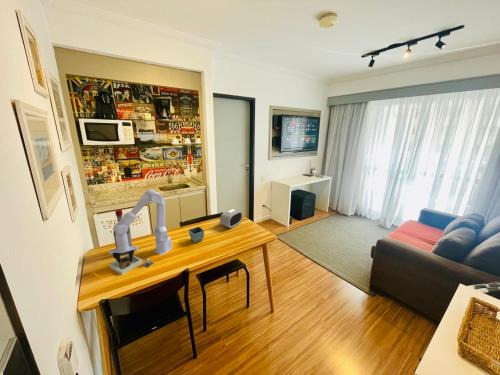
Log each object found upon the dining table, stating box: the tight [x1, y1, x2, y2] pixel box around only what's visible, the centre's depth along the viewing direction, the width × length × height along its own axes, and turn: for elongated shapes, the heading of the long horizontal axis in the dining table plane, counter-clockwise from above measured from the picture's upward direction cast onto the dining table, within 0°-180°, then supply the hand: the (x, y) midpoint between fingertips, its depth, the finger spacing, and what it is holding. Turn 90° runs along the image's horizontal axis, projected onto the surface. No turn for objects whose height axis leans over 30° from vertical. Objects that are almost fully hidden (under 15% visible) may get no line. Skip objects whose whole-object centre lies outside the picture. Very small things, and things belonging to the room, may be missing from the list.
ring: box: [119, 256, 131, 268], centre depth 123 cm, size 6×6×3 cm
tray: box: [108, 254, 143, 276], centre depth 124 cm, size 13×13×3 cm
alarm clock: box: [219, 208, 244, 229], centre depth 179 cm, size 21×10×13 cm, turn 147°
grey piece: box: [141, 257, 155, 269], centre depth 125 cm, size 5×5×4 cm
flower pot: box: [188, 226, 205, 244], centre depth 152 cm, size 9×9×9 cm
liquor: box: [112, 209, 133, 257], centre depth 134 cm, size 9×9×30 cm
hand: (125, 262), depth 124 cm, fingers closed on ring, 6 cm apart
